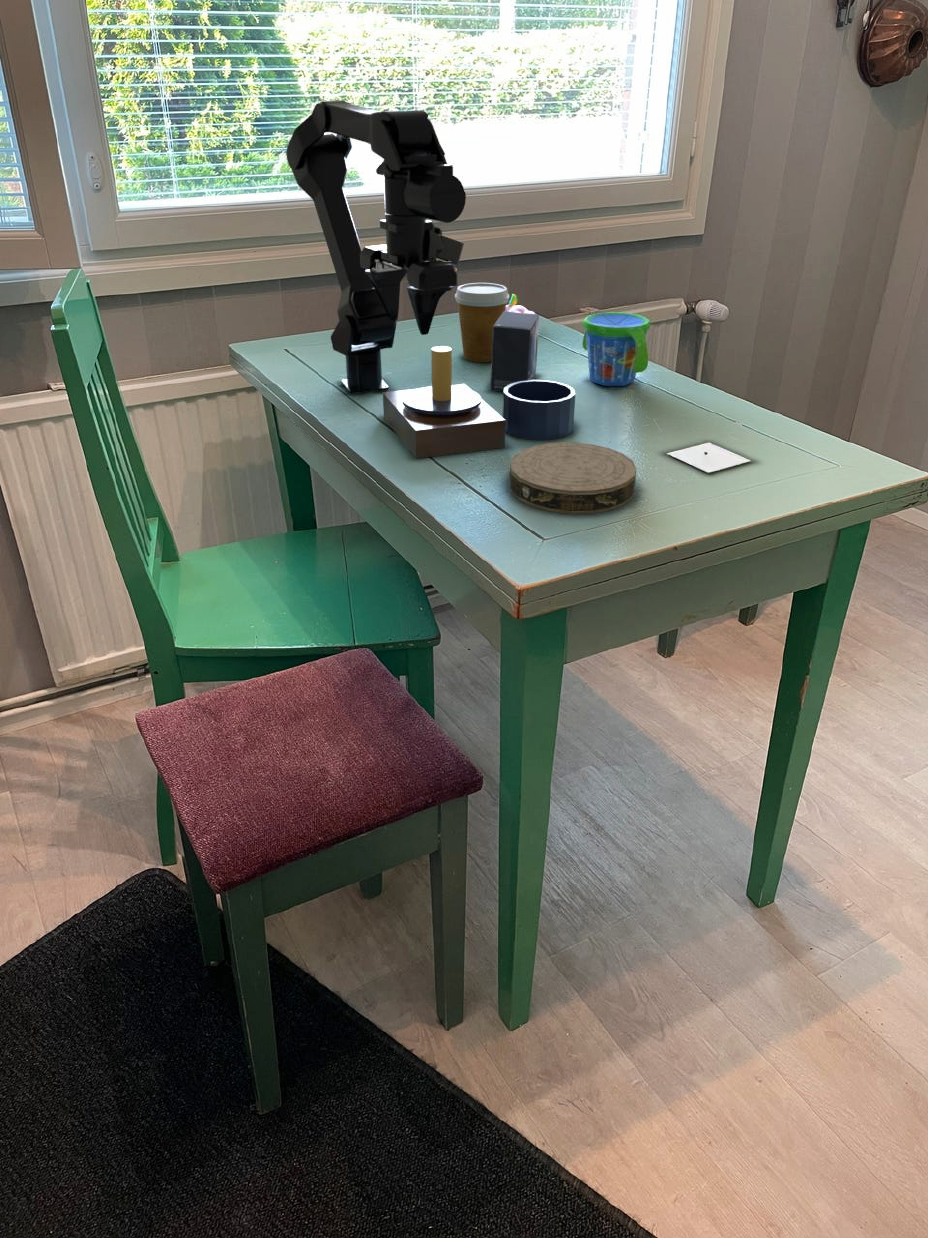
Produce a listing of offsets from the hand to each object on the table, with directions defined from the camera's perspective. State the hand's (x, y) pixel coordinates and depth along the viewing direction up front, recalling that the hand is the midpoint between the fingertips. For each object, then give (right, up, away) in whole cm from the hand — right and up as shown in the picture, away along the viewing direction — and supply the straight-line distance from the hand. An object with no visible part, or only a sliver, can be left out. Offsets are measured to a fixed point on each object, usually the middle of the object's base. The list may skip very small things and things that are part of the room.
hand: (408, 327), depth 138 cm
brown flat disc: (+22, -26, -18) cm, 39 cm away
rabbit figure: (+19, +16, +50) cm, 56 cm away
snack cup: (+33, -3, +19) cm, 38 cm away
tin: (+19, -15, 0) cm, 24 cm away
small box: (+17, -4, +18) cm, 25 cm away
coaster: (+42, -21, -10) cm, 48 cm away
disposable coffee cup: (+11, +4, +31) cm, 33 cm away
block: (+5, -16, -2) cm, 17 cm away
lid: (+5, -12, -4) cm, 14 cm away
